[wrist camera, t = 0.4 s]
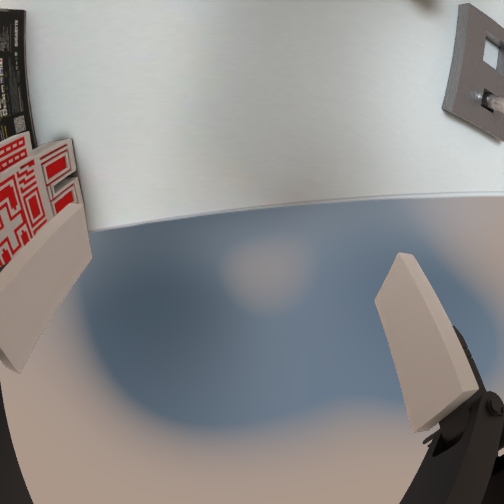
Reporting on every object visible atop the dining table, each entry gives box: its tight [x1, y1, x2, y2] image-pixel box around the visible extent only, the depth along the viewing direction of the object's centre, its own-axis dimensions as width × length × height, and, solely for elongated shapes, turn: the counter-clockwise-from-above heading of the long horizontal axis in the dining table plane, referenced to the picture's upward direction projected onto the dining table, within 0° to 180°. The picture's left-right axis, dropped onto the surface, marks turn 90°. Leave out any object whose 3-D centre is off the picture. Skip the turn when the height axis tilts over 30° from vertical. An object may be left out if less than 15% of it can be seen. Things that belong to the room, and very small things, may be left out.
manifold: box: [442, 3, 504, 142], centre depth 25 cm, size 20×14×8 cm
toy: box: [0, 131, 84, 267], centre depth 30 cm, size 22×8×30 cm, turn 179°
